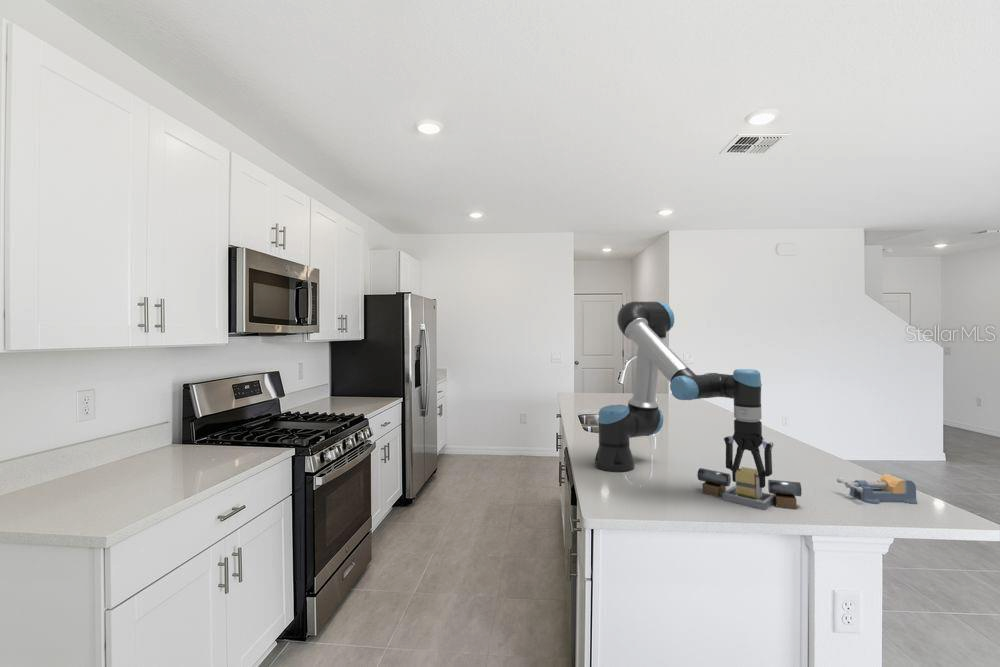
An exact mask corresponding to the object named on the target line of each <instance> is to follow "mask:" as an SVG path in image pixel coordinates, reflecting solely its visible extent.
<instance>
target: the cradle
mask: <svg viewBox="0 0 1000 667" xmlns="http://www.w3.org/2000/svg"><path fill="white" fill-rule="evenodd" d="M722 500H723V501H726V502H729V503H734V504H739V505H742V506H747V507H751V508H754V509H759V510H763V511H766V510H768V508H770V507H771V506H772V505H773V504H775V496H774V495H773V494H771V493H769V492H765V491H762V497H761V498H760V499H758V500H757V499H756V500H754V499H750V498H745V497H741V496H737V494H736V485H733V486H732V487H730V488H729V489H726V491H725V492H724V493H723V494H722ZM762 500H763V501H762Z"/></svg>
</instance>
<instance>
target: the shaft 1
mask: <svg viewBox="0 0 1000 667" xmlns="http://www.w3.org/2000/svg"><path fill="white" fill-rule="evenodd" d="M696 476H697V479H698V480H699V481H700V482H703V483H702V484H701V486H702V494H706V495H710V496H714V497H718V498H719V497H720V496H723V493H724V492H725V491H727V487H730V485H731V481H732V476H731V474H730V473H729V472H728V473H727V472H723V471H717V470H714V469H712V470H711V469H708V468H703V467H699V468H698V470H697V475H696Z"/></svg>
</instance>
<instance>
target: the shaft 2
mask: <svg viewBox="0 0 1000 667" xmlns="http://www.w3.org/2000/svg"><path fill="white" fill-rule="evenodd" d="M767 488H768V494H773V495H774V496H775V503H774V504H775V506H776V508H782V509H784V508H785V509H792V510H797V498H796V497H802V484H801V482H799V481H790V480H777V479H768V480H767Z"/></svg>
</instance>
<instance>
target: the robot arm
mask: <svg viewBox="0 0 1000 667" xmlns="http://www.w3.org/2000/svg"><path fill="white" fill-rule="evenodd" d="M674 323H675V314H674V311H673V309H672V308H671V306H670V305H668V304H667V303H665V302H661V301H629V302H627V303H625V304H624V305H623V306H622V307H621V308H620V309H619V310H618V314H617V325H618V329H619V330H620V332H621V333H622V334H623V335H624V336H625V338H627V340H632V342H634V343H635V345H636V346H637V352H636V358H635V359H636V360H635V369H634V370H635V372H634V381H633V382H634V383H633V391H632V397H631V398H630V399H628V402H627V405H626V404H610V405H607V406H606V405H605V406H603V407H601V408H600V409H599V411H598V419H597V422H598V448H597V451H596V455H595V458H594V466H595V467H596V469H599V470H602V471H606V472H615V473H616V472H629V471H632V470H634V469H635V460H634V457H633V454H632V451H631V446H630V438H631V439H632V438H638V437H649V436H651V435H655V434H657V433H658V432H660V431H661V429H662V428H663V424H664V415H663V412H662V410H661V409H660V408H659V403H658V402H657V401H656V395H657V394H656V393H657V385H658V374H659V371H660V373H661V374H663V376H664V377H665V378H666V379H667V380H668V382H670V384H669V388H670V391H671V394H672V396H673V397H674V398H675V399H677V400H680V401H692V400H700V399H711V398H726V399H727V398H728V399H733V417H734V418H735V419H733V431H734V433H733V435H729V436H728V435H727V436H726V437H723V441H724V443H725V468H726V469H728V470H730V471H731V474H732V476H731V481H732V482H733V483H736V481H737V471H736V470H738V469H740V465H741V463H742V459H743V455H744V452H745V450H746V451H748V452H751V455H752V457H753V459H754V460H753V461H754V464H755V467H756V469H757V471H758V476H756V498H757V499H758V500H761V499H760V498H761V497H762V492H763V489H764V488H765V487H766V477H770V476H773V462H772V461H773V460H772V459H773V458H772V457H773V456H772V450H773V447H774V443H773V442H769V441H767V440H765V439H764V437H763V434H762V433H763V428H762V426H763V424H762V421H761V420H762V417H763V416H762V386H763V385H762V380H761V377H762V376H761V372H760V371H759V370H757V369H751V368H750V369H748V368H743V369H742V368H739V369H737V368H736V369H734V370H733V372H732V374H726V373H718V372H706V373H704V374H696V373H695V372H694V371H693V370H692V369H690V367H689V366H688V364H686V363H685V362H684V361H683V360H682V359H681V358H680V357H679V355H677V354H676V353H675V352H674V351H673V350H672V349H671V348H670V346H669V345H667V344H666V342H664V340H665V339H667V332H669V331H670V330H672V328H673V327H674ZM734 442H735V444H736V445H737V447H736V453H735V457H734V456H733V455H734ZM761 445H762V446H763V447H762V448H763V449H764V463H763V461H762V457H761V453H760V452H761V451H760V447H761ZM733 460H734V461H733ZM735 486H736V494H735V495H737V485H736V484H735ZM757 499H756V500H757Z"/></svg>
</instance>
